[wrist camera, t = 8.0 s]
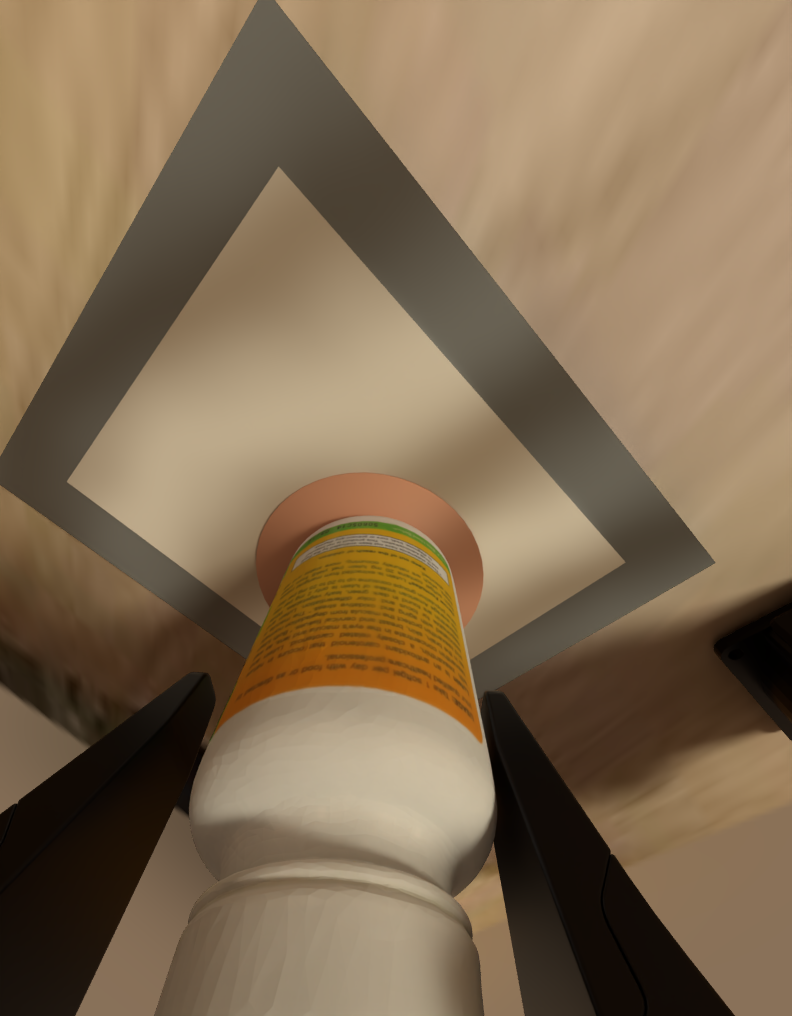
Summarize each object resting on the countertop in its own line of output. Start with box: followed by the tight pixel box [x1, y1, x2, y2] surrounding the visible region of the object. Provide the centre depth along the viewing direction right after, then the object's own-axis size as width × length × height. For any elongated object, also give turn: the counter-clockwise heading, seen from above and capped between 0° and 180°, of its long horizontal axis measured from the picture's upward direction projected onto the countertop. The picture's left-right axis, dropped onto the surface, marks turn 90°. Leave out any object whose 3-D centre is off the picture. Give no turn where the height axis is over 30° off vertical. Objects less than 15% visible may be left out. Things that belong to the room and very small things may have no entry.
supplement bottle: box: [154, 516, 497, 1016], centre depth 9 cm, size 5×5×10 cm
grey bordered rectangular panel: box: [0, 0, 715, 700], centre depth 13 cm, size 18×15×1 cm
